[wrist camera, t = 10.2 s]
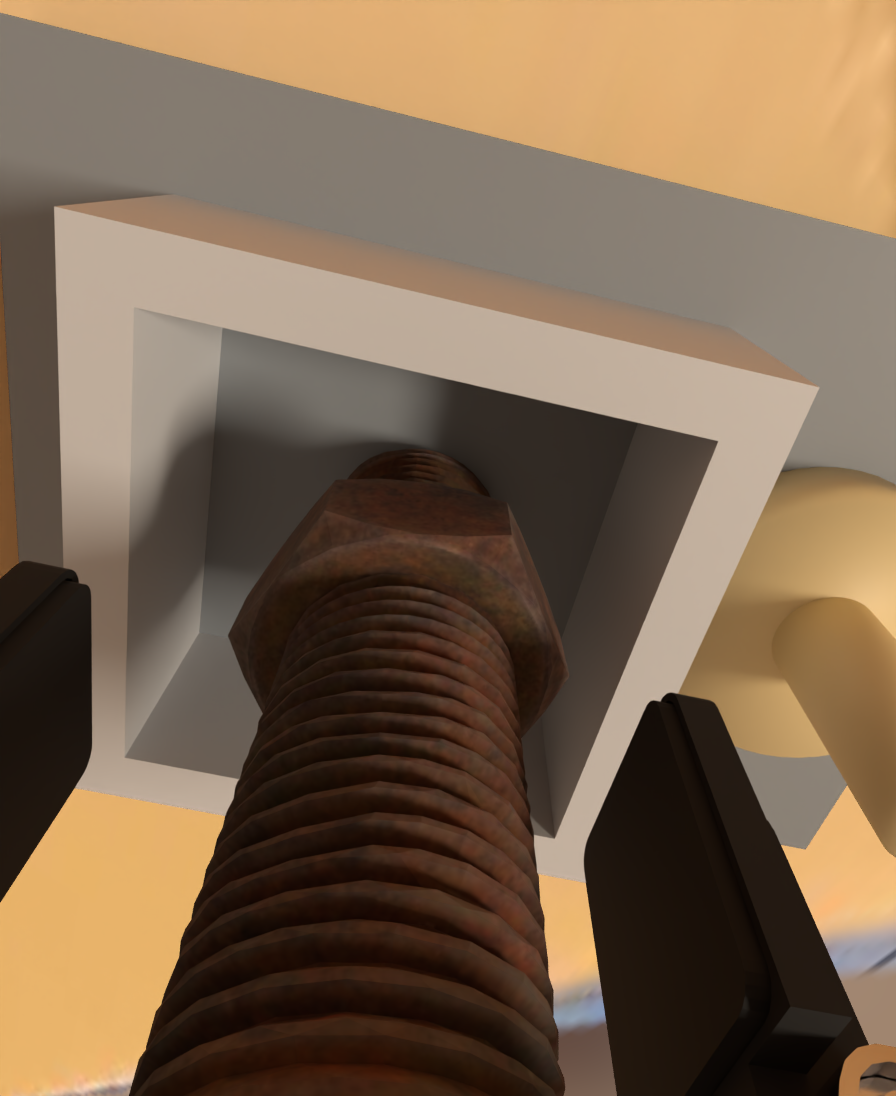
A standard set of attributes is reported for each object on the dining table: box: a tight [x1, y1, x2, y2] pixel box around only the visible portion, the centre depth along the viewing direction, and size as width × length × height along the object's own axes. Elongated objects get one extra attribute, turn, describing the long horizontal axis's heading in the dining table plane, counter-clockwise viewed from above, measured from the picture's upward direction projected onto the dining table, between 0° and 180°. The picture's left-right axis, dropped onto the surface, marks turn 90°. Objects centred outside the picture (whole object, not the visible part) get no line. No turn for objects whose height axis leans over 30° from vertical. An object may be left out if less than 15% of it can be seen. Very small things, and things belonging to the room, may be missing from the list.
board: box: [0, 13, 896, 883], centre depth 13 cm, size 20×14×7 cm
